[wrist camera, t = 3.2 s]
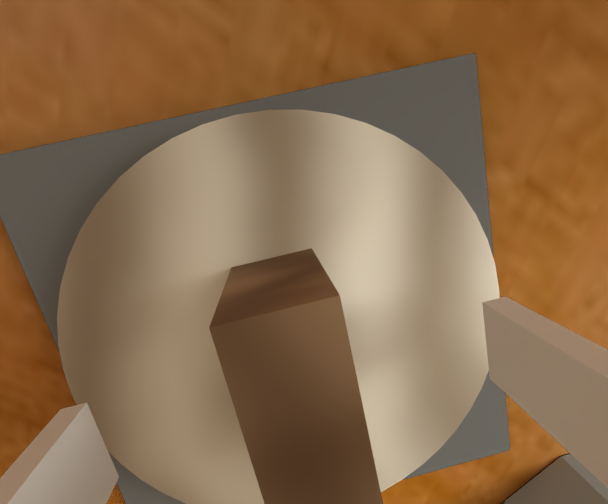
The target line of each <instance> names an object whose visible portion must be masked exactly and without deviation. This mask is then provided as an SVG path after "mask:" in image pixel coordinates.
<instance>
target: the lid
mask: <svg viewBox="0 0 608 504" xmlns="http://www.w3.org/2000/svg"><path fill="white" fill-rule="evenodd" d="M498 298H499V286H498V279H497V273H496V266H495V262H494V259H493V256H492V252H491V249H490V246H489V242H488V239H487V237H486V235H485V233H484V231H483V228H482V226H481V224H480V222H479V220H478V218H477V216H476V214H475V212H474V211H473V209H472V208H471V206H470V205H469V203H468V202H467V200H466V199H465V197H464V195H463V194H462V192H461V191H460V190H459V189H458V188H457V187H456V185H455V184H454V183H453V182H452V181H451V180H450V179H449V178H448V176H447V175H446V174H445V173H444V172H443V171H442V170H441V169H440V168H439V167H438V166H436V165H435V164H434V163H433V162H432V161H431V160H429V159H428V158H427V157H426V156H425V155H423V154H422V153H421V152H420V151H418V150H417V149H415V148H414V147H412V146H410V145H409V144H407V143H406V142H404V141H402V140H401V139H399V138H398V137H396V136H394V135H392V134H390V133H388V132H385V131H383V130H381V129H379V128H376V127H374V126H372V125H370V124H367V123H365V122H361V121H358V120H354V119H351V118H347V117H344V116H340V115H337V114H331V113H324V112H316V111H309V110H264V111H257V112H250V113H243V114H236V115H233V116H229V117H226V118H222V119H219V120H216V121H212V122H209V123H205V124H202V125H200V126H198V127H196V128H193V129H191V130H189V131H187V132H185V133H182V134H180V135H178V136H176V137H174V138H172V139H170V140H168V141H167V142H165V143H164V144H162V145H161V146H159V147H157V148H156V149H154V150H153V151H151V152H150V153H148V154H146V155H145V156H143V157H142V158H141V159H140V160H139V161H138V162H136V163H135V164H134V165H133V166H132V167H131V168H130V169H128V170H127V171H126V172H125V173H124V174H123V175H121V176H120V177H119V178H118V179H117V180H116V182H115V183H114V184H113V185H112V186H111V187H110V188H109V190H108V191H107V192H106V193H105V194H104V195H103V197H102V198H101V199H100V200H99V201H98V202H97V204H96V205H95V207H94V209H93V210H92V212H91V213H90V215H89V217H88V218H87V220H86V221H85V223H84V224H83V226H82V228H81V229H80V231H79V234H78V236H77V238H76V240H75V243H74V245H73V247H72V250H71V252H70V254H69V256H68V259H67V263H66V267H65V271H64V274H63V278H62V282H61V286H60V293H59V302H58V311H57V328H58V346H59V351H60V356H61V361H62V366H63V371H64V375H65V377H66V380H67V383H68V386H69V389H70V391H71V394H72V397H73V399H74V401H75V403H76V405H79V404H83V403H87V404H88V406H89V409H90V411H91V413H92V415H93V418H94V420H95V422H96V425H97V427H98V429H99V432H100V434H101V436H102V439H103V441H104V443H105V446H106V448H107V450H108V451H109V452H110V453H111V454H112V455H113V456H114V457H115V458H116V459H117V461H118V462H119V463H120V464H122V465H123V466H124V467H125V468H127V469H128V470H129V471H130V472H132V473H133V474H134V475H135V476H137V477H138V478H139V479H140V480H142V481H144V482H145V483H147V484H149V485H150V486H152V487H154V488H155V489H157V490H158V491H160V492H162V493H164V494H166V495H168V496H170V497H172V498H174V499H177V500H179V501H181V502H183V503H185V504H383V501H382V496H381V492H382V491H384V490H386V489H387V488H389V487H391V486H392V485H394V484H396V483H397V482H399V481H401V480H403V479H404V478H405V477H407V476H408V475H409V474H411V473H412V472H413V471H415V470H416V469H417V468H419V467H420V466H421V465H423V464H424V463H425V462H426V461H427V460H428V459H429V458H430V457H431V456H433V455H434V454H435V453H436V452H437V451H438V450H439V449H440V448H441V447H442V446H443V445H444V444H445V442H446V441H447V440H448V439H449V438H450V437H451V435H452V434H453V433H454V432H455V431H456V430H457V428H458V427H459V425H460V424H461V422H462V421H463V420H464V418H465V417H466V415H467V414H468V412H469V411H470V409H471V408H472V406H473V404H474V402H475V400H476V398H477V396H478V394H479V392H480V391H481V389H482V386H483V384H484V381H485V379H486V376H487V373H488V371H489V366H488V356H487V346H486V335H485V325H484V315H483V305H482V302H486V301H490V300H494V299H498Z"/></svg>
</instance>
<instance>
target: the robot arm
mask: <svg viewBox="0 0 608 504" xmlns="http://www.w3.org/2000/svg"><path fill="white" fill-rule="evenodd" d="M482 305H483V315H484V325H485V335H486V346H487V356H488V366H489V376H490V380H492V381H493V382H494V383H495V384H496V385H497V386H498V387H499V388H500V389H501V390H502V391H503V392H504V393H506V394H507V395H508V396H509V397H510V398H511V399H512V400H513V401H514V402H515V403H516V404H517V405H518V406H520V407H521V408H522V409H523V410H524V411H525V412H526V413H527V414H528V415H529V416H530V417H531V418H533V419H534V420H535V421H536V422H537V423H538V424H539V425H540V426H541V427H542V428H543V429H544V430H545V431H547V432H548V433H549V434H550V435H551V436H552V437H553V438H554V439H555V440H556V441H557V442H558V443H560V444H561V445H562V446H563V447H564V448H565V449H566V450H567V451H568V452H569V453H570V454H571V455H572V456H574V457H575V458H576V459H577V460H578V461H579V462H580V463H581V464H582V465H583V466H584V467H585V468H587V469H588V470H589V471H590V472H591V473H592V474H593V475H594V476H595V477H596V478H597V479H598V480H599V481H601V482H602V483H603V484H604V485H605V486H606V487H607V488H608V350H607V349H606V348H604V347H602V346H600V345H598V344H596V343H594V342H592V341H590V340H588V339H586V338H584V337H582V336H581V335H579V334H577V333H575V332H573V331H571V330H569V329H567V328H565V327H563V326H561V325H559V324H557V323H556V322H554V321H552V320H550V319H548V318H546V317H544V316H542V315H540V314H538V313H536V312H534V311H532V310H530V309H529V308H527V307H525V306H523V305H521V304H519V303H517V302H515V301H513V300H511V299H509V298H507V297H502V298H498V299H494V300H490V301H486V302H482ZM118 478H119V476H118V473H117V471H116V469H115V466H114V464H113V462H112V459H111V457H110V455H109V452H108V450H107V448H106V446H105V443H104V441H103V439H102V436H101V434H100V432H99V429H98V427H97V425H96V422H95V420H94V418H93V415H92V413H91V411H90V409H89V406H88V404H87V403H83V404H79V405H75V406H71V407H67V408H63V409H60V410H59V411H58V412H57V414H56V415H55V416H54V417H53V418H52V419H51V421H50V422H49V423H48V424H47V425H46V426H45V427H44V429H43V430H42V431H41V432H40V433H39V434H38V435H37V437H36V438H35V439H34V440H33V441H32V442H31V443H30V445H29V446H28V447H27V448H26V449H25V450H24V451H23V453H22V454H21V455H20V456H19V457H18V458H17V459H16V461H15V462H14V463H13V464H12V465H11V466H10V467H9V469H8V470H7V471H6V472H5V473H4V474H3V475H2V477H1V478H0V504H106V503H107V501H108V499H109V497H110V495H111V493H112V491H113V489H114V487H115V485H116V483H117V481H118Z"/></svg>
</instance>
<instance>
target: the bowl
mask: <svg viewBox="0 0 608 504" xmlns="http://www.w3.org/2000/svg"><path fill="white" fill-rule="evenodd" d="M504 504H608V488H607V487H606V486H605V485H604V484H603V483H602V482H601V481H599V480H598V479H597V478H596V477H595V476H594V475H593V474H592V473H591V472H590V471H589V470H588V469H587V468H585V467H584V466H583V465H582V464H581V463H580V462H579V461H578V460H577V459H576V458H575V457H574V456H572V455H571V454H568V455H564V456H560V457H559V458H558V459H557V460H556V461H554V462H553V463H552V464H551V465H549V466H548V467H547V468H546V469H544V470H543V471H542V472H541V473H539V474H538V475H537V476H536V477H534V478H533V479H532V480H531V481H529V482H528V483H527V484H525V485H524V486H523V487H522V488H520V489H519V490H518V491H517V492H515V493H514V494H513V495H512V496H510V497H509V498H508V499H507V500H505V502H504Z"/></svg>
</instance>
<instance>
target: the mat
mask: <svg viewBox="0 0 608 504" xmlns="http://www.w3.org/2000/svg"><path fill="white" fill-rule="evenodd" d="M264 110H309V111H316V112H324V113H331V114H337V115H340V116H344V117H347V118H351V119H354V120H358V121H361V122H365V123H367V124H370V125H372V126H374V127H376V128H379V129H381V130H383V131H385V132H388V133H390V134H392V135H394V136H396V137H398V138H399V139H401V140H402V141H404V142H406V143H407V144H409V145H410V146H412V147H414V148H415V149H417V150H418V151H420V152H421V153H422V154H423V155H425V156H426V157H427V158H428V159H429V160H431V161H432V162H433V163H434V164H435V165H436V166H438V167H439V168H440V169H441V170H442V171H443V172H444V173H445V174H446V175H447V176H448V178H449V179H450V180H451V181H452V182H453V183H454V184H455V185H456V187H457V188H458V189H459V190H460V191H461V192H462V194H463V195H464V197H465V199H466V200H467V202H468V203H469V205H470V206H471V208H472V209H473V211H474V212H475V214H476V216H477V218H478V220H479V222H480V224H481V226H482V228H483V231H484V233H485V235H486V237H487V239H488V242H489V246H490V249H491V252H492V256H493V246H492V234H491V223H490V211H489V200H488V188H487V177H486V165H485V153H484V142H483V130H482V119H481V107H480V96H479V84H478V73H477V61H476V53H472V54H468V55H463V56H458V57H454V58H449V59H444V60H440V61H435V62H430V63H426V64H421V65H416V66H412V67H407V68H402V69H398V70H393V71H388V72H384V73H379V74H374V75H370V76H365V77H360V78H355V79H351V80H346V81H341V82H337V83H332V84H327V85H323V86H318V87H313V88H309V89H304V90H299V91H295V92H290V93H285V94H281V95H276V96H271V97H267V98H262V99H257V100H253V101H248V102H243V103H239V104H234V105H229V106H225V107H220V108H215V109H211V110H206V111H201V112H197V113H192V114H187V115H183V116H178V117H173V118H169V119H164V120H159V121H155V122H150V123H145V124H141V125H136V126H131V127H127V128H122V129H117V130H113V131H108V132H103V133H99V134H94V135H89V136H85V137H80V138H75V139H71V140H66V141H61V142H57V143H52V144H47V145H43V146H38V147H33V148H29V149H24V150H19V151H15V152H10V153H5V154H1V155H0V218H1V220H2V222H3V224H4V227H5V229H6V231H7V234H8V236H9V238H10V240H11V243H12V245H13V247H14V250H15V252H16V254H17V256H18V259H19V261H20V263H21V266H22V268H23V270H24V272H25V275H26V277H27V279H28V282H29V284H30V286H31V289H32V291H33V293H34V295H35V298H36V300H37V302H38V305H39V307H40V309H41V311H42V314H43V316H44V318H45V321H46V323H47V325H48V327H49V330H50V332H51V334H52V337H53V339H54V341H55V343H56V346H57V348H58V350H59V346H58V328H57V311H58V302H59V293H60V286H61V282H62V278H63V274H64V271H65V267H66V263H67V259H68V256H69V254H70V252H71V250H72V247H73V245H74V243H75V240H76V238H77V236H78V234H79V231H80V229H81V228H82V226H83V224H84V223H85V221H86V220H87V218H88V217H89V215H90V213H91V212H92V210H93V209H94V207H95V205H96V204H97V202H98V201H99V200H100V199H101V198H102V197H103V195H104V194H105V193H106V192H107V191H108V190H109V188H110V187H111V186H112V185H113V184H114V183H115V182H116V180H117V179H118V178H119V177H120V176H121V175H123V174H124V173H125V172H126V171H127V170H128V169H130V168H131V167H132V166H133V165H134V164H135V163H136V162H138V161H139V160H140V159H141V158H142V157H143V156H145V155H146V154H148V153H150V152H151V151H153V150H154V149H156V148H157V147H159V146H161V145H162V144H164V143H165V142H167V141H168V140H170V139H172V138H174V137H176V136H178V135H180V134H182V133H185V132H187V131H189V130H191V129H193V128H196V127H198V126H200V125H202V124H205V123H209V122H212V121H216V120H219V119H222V118H226V117H229V116H233V115H236V114H243V113H250V112H257V111H264ZM493 259H494V258H493ZM59 353H60V351H59ZM508 450H510V443H509V431H508V419H507V408H506V396H505V393H504V392H503V391H502V390H501V389H500V388H499V387H498V386H497V385H496V384H495V383H494V382H493V381H492V380H490V376H489V371H488V373H487V376H486V379H485V381H484V384H483V386H482V389H481V391H480V392H479V394H478V396H477V398H476V400H475V402H474V404H473V406H472V408H471V409H470V411H469V412H468V414H467V415H466V417H465V418H464V420H463V421H462V422H461V424H460V425H459V427H458V428H457V430H456V431H455V432H454V433H453V434H452V435H451V437H450V438H449V439H448V440H447V441H446V442H445V444H444V445H443V446H442V447H441V448H440V449H439V450H438V451H437V452H436V453H435V454H434V455H433V456H431V457H430V458H429V459H428V460H427V461H426V462H425V463H424V464H423V465H421V466H420V467H419V468H417V469H416V470H415V471H413V472H412V473H411V474H409V475H408V476H407V477H405V478H404V479H407V478H411V477H414V476H418V475H422V474H425V473H429V472H433V471H436V470H440V469H443V468H447V467H451V466H454V465H458V464H461V463H465V462H469V461H472V460H476V459H479V458H483V457H487V456H490V455H494V454H498V453H501V452H505V451H508ZM108 452H109V451H108ZM109 455H110V457H111V459H112V462H113V464H114V466H115V469H116V471H117V473H118V476H119V478H118V481H117V485H118V487H119V490H120V492H121V494H122V497H123V499H124V501H125V503H126V504H185V503H183V502H181V501H179V500H177V499H174V498H172V497H170V496H168V495H166V494H164V493H162V492H160V491H158V490H157V489H155V488H154V487H152V486H150V485H149V484H147V483H145V482H144V481H142V480H140V479H139V478H138V477H137V476H135V475H134V474H133V473H132V472H130V471H129V470H128V469H127V468H125V467H124V466H123V465H122V464H120V463H119V462H118V461H117V459H116V458H115V457H114V456H113V455H112V454H111V453H110V452H109ZM404 479H403V480H404Z"/></svg>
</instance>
